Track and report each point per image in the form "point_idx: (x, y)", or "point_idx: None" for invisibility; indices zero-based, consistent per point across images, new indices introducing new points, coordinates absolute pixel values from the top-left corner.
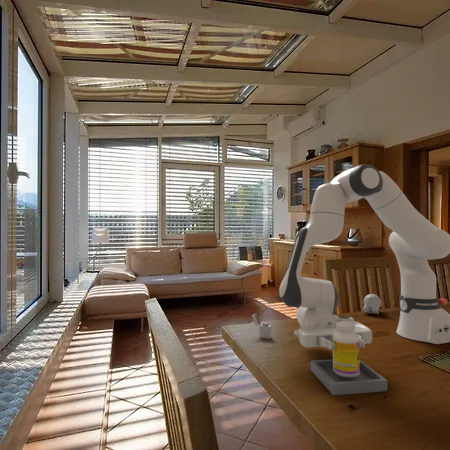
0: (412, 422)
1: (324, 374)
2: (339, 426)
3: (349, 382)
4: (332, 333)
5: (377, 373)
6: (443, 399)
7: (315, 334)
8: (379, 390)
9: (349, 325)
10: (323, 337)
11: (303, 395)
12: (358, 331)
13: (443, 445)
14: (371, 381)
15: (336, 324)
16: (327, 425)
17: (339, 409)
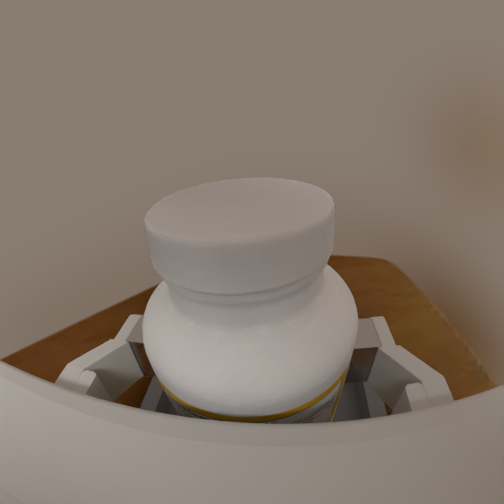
0: None
1: (380, 403)
2: (373, 281)
3: None
4: (318, 424)
5: (155, 378)
6: (102, 312)
7: (494, 390)
8: None
9: (232, 184)
10: (421, 395)
11: (441, 365)
12: (33, 382)
13: None
14: None
15: (334, 207)
16: (394, 284)
17: (360, 316)
